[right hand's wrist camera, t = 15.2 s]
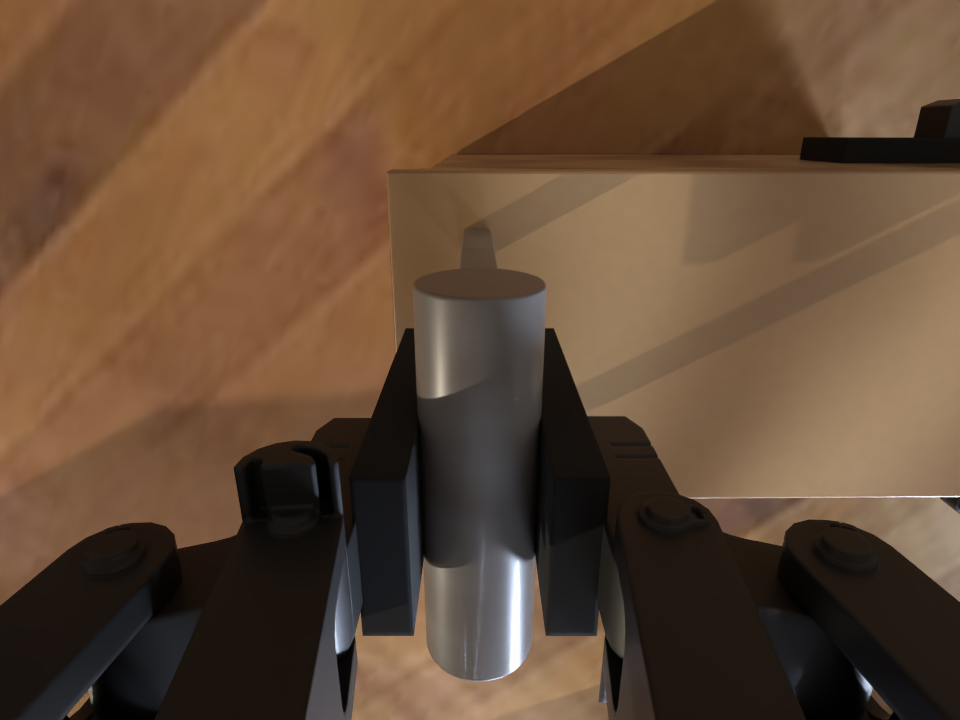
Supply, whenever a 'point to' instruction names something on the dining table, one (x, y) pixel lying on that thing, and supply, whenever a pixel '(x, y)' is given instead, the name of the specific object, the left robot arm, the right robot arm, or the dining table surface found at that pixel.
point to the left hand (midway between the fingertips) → (792, 299)
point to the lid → (667, 349)
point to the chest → (660, 162)
